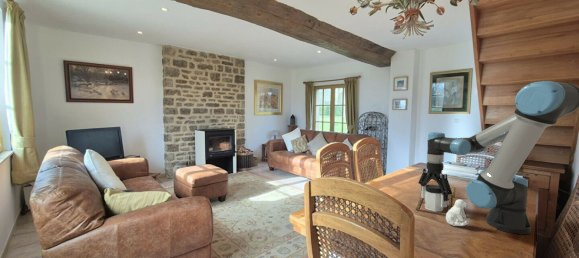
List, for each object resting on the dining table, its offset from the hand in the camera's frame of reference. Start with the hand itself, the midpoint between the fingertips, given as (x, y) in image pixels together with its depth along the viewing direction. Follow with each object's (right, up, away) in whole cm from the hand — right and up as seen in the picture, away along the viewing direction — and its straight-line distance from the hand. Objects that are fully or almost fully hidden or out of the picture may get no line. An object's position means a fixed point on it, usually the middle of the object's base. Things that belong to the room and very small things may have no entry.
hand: (433, 202), depth 132 cm
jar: (0, -4, 0) cm, 4 cm away
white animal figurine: (-1, -5, -20) cm, 21 cm away
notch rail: (+8, -3, +12) cm, 14 cm away
